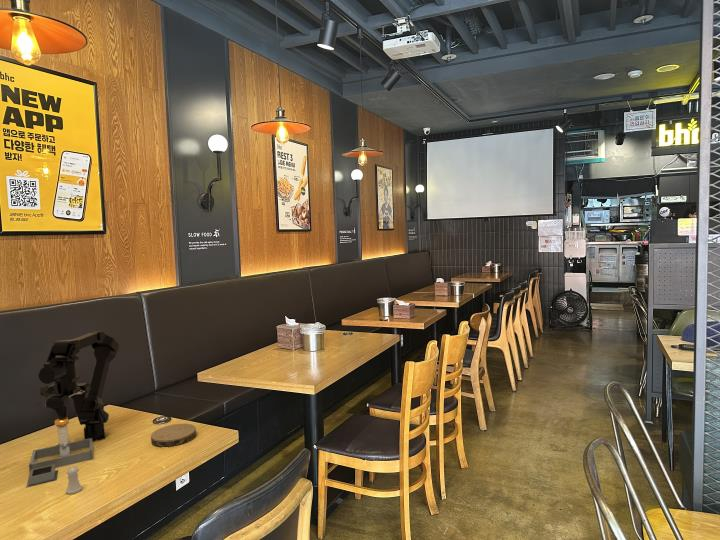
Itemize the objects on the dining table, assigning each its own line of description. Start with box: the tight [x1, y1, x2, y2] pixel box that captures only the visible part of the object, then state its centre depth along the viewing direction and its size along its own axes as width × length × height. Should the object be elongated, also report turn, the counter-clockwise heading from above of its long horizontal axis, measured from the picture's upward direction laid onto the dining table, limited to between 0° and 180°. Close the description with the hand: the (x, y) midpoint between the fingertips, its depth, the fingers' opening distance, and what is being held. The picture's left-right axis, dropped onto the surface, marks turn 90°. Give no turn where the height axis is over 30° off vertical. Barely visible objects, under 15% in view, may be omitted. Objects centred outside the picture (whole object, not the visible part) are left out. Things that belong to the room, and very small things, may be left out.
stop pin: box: [54, 416, 71, 457], centre depth 164 cm, size 4×4×14 cm
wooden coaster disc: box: [150, 423, 197, 449], centre depth 181 cm, size 16×16×3 cm
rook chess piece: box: [65, 465, 83, 495], centre depth 143 cm, size 4×4×8 cm
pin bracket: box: [25, 464, 59, 488], centre depth 151 cm, size 8×8×4 cm
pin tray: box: [28, 438, 94, 471], centre depth 165 cm, size 18×13×4 cm
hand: (70, 418), depth 171 cm, fingers open, 9 cm apart
